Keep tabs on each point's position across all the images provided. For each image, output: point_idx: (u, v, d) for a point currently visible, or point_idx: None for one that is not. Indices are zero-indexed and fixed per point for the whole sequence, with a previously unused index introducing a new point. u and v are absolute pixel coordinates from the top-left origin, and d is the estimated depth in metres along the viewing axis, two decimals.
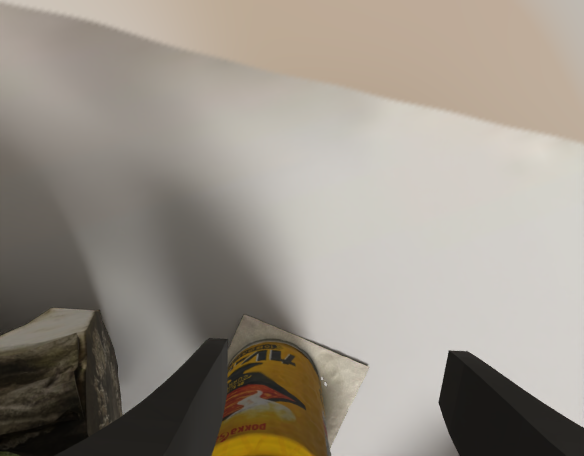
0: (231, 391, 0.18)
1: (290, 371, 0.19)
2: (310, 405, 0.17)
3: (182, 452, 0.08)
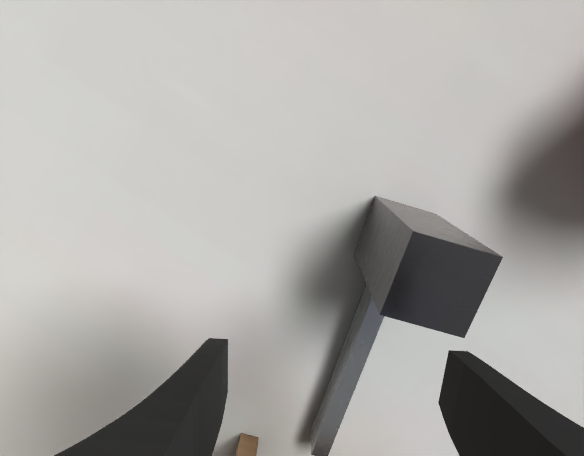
0: None
1: None
2: None
3: (182, 452, 0.08)
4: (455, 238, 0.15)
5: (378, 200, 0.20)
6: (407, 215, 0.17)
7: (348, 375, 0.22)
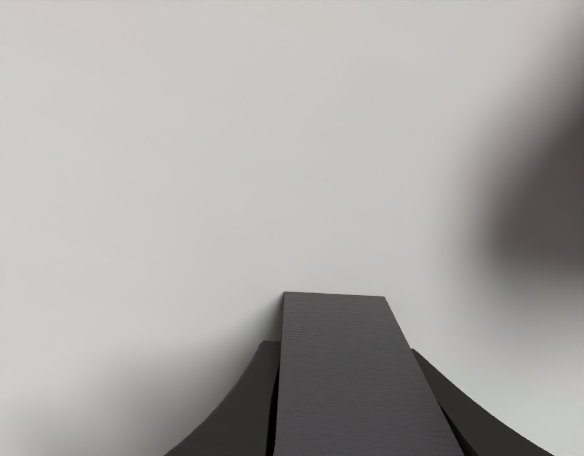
0: None
1: None
2: None
3: None
4: (380, 426, 0.08)
5: None
6: (311, 353, 0.10)
7: None
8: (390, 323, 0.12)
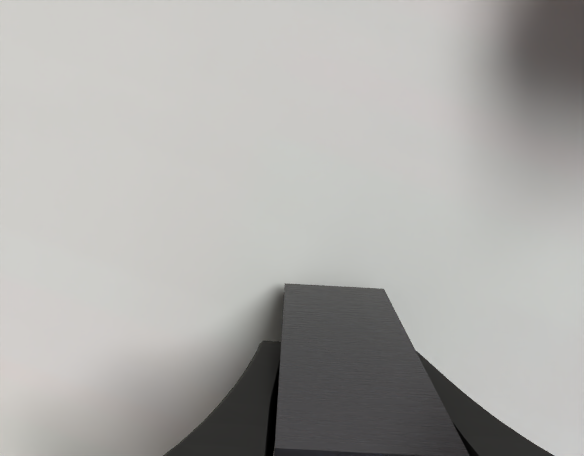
0: None
1: None
2: None
3: None
4: (379, 411, 0.08)
5: (284, 297, 0.13)
6: (311, 342, 0.10)
7: None
8: (389, 314, 0.12)
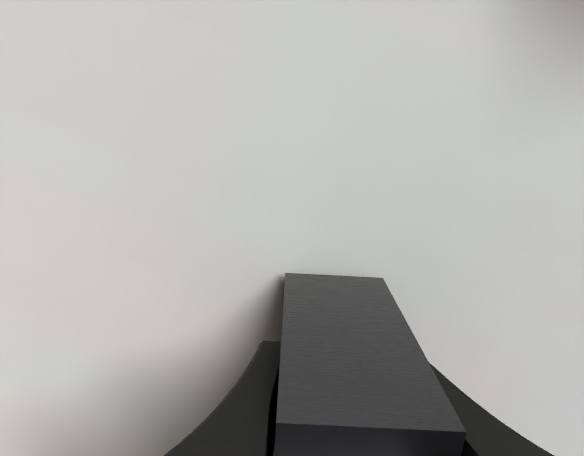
0: None
1: None
2: None
3: None
4: (377, 389, 0.08)
5: (284, 286, 0.13)
6: (311, 327, 0.10)
7: None
8: (388, 301, 0.12)
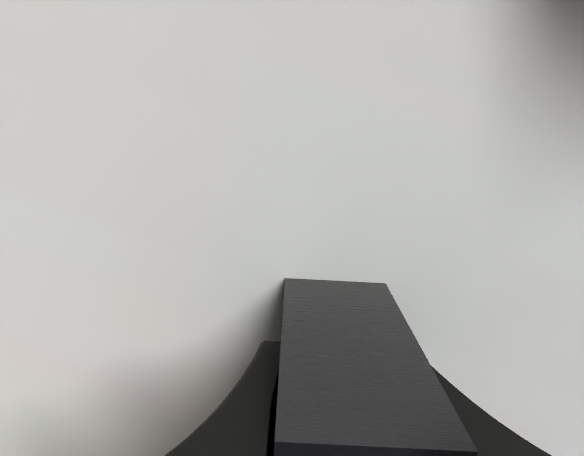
0: None
1: None
2: None
3: None
4: (382, 404, 0.08)
5: (284, 292, 0.12)
6: (311, 336, 0.10)
7: None
8: (391, 308, 0.12)
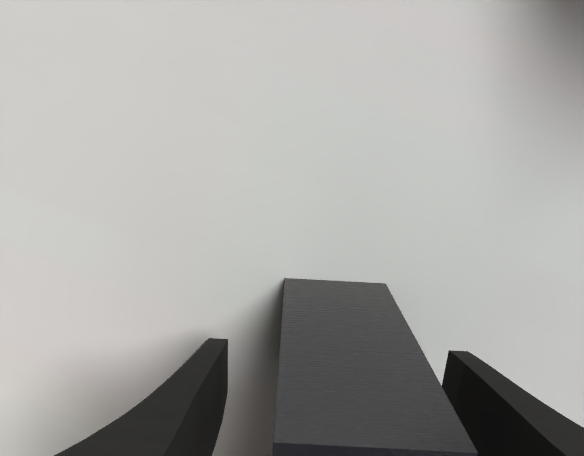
0: None
1: None
2: None
3: (182, 452, 0.08)
4: (381, 405, 0.07)
5: None
6: (311, 336, 0.10)
7: None
8: (391, 308, 0.11)
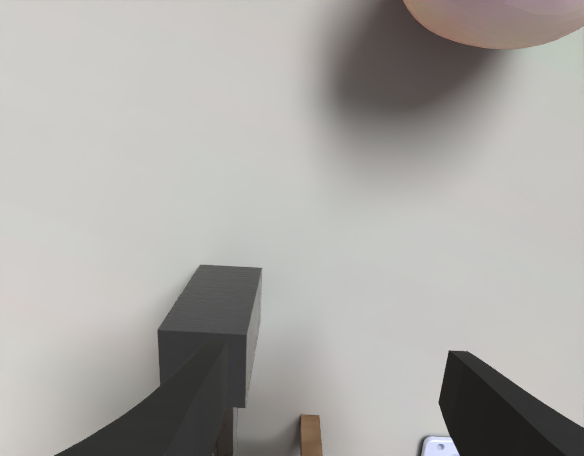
0: None
1: None
2: None
3: (182, 452, 0.08)
4: (215, 319, 0.16)
5: (196, 272, 0.21)
6: (198, 293, 0.18)
7: (222, 431, 0.23)
8: (254, 281, 0.20)
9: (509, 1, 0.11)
